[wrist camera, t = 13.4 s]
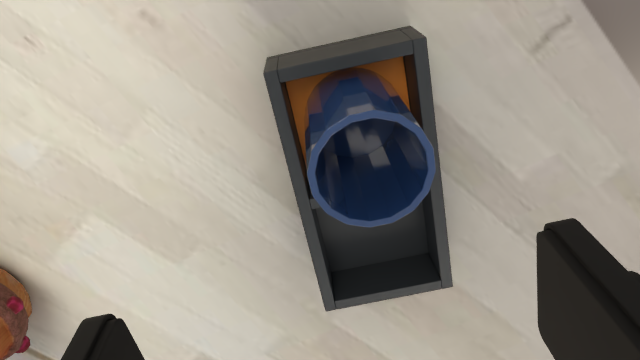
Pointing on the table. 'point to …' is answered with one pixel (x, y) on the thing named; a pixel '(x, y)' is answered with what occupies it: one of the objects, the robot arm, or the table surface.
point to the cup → (365, 150)
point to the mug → (13, 316)
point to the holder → (356, 241)
